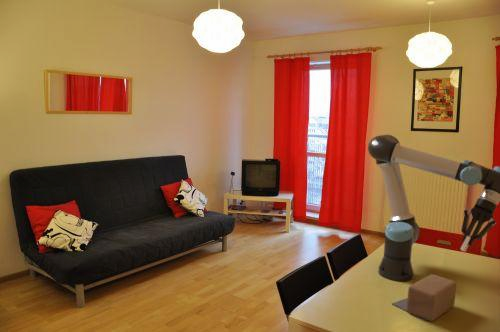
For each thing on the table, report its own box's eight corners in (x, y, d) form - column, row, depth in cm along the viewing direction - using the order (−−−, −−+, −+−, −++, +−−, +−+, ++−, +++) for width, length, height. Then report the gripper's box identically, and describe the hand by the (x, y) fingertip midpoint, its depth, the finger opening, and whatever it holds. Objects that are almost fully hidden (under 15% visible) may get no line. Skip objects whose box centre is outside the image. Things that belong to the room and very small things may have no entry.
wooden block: (431, 272, 160) (407, 285, 147) (457, 281, 153) (435, 295, 140) (429, 296, 162) (405, 311, 148) (454, 305, 154) (432, 322, 141)
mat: (420, 294, 164) (420, 293, 164) (453, 308, 153) (453, 307, 153) (391, 304, 155) (391, 303, 155) (424, 320, 143) (424, 319, 143)
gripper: (470, 193, 173) (445, 241, 171) (502, 204, 163) (476, 256, 162) (474, 198, 178) (449, 246, 176) (506, 210, 168) (480, 260, 167)
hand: (462, 250), depth 169 cm, fingers closed
